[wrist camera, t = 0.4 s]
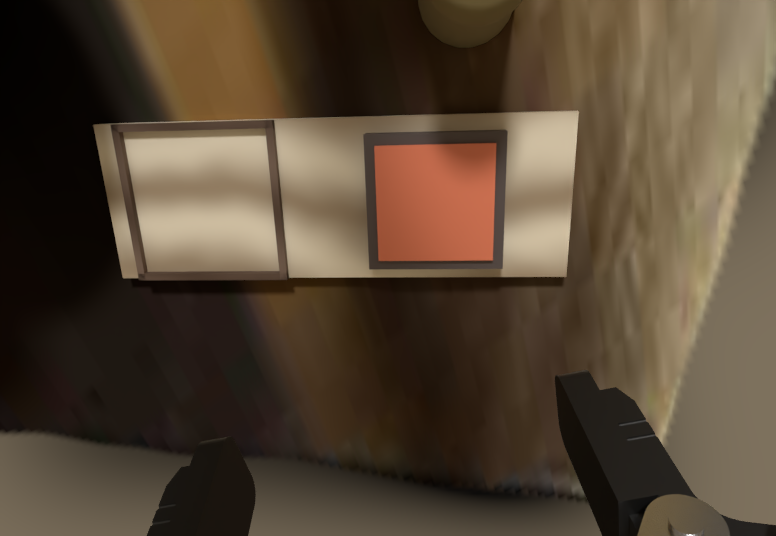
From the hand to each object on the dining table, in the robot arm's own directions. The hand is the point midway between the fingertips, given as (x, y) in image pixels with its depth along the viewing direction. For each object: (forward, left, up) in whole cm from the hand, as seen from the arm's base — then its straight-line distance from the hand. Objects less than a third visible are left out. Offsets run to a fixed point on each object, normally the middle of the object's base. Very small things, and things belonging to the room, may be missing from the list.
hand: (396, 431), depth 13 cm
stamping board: (-1, -6, -26) cm, 27 cm away
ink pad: (-1, +1, -26) cm, 26 cm away
